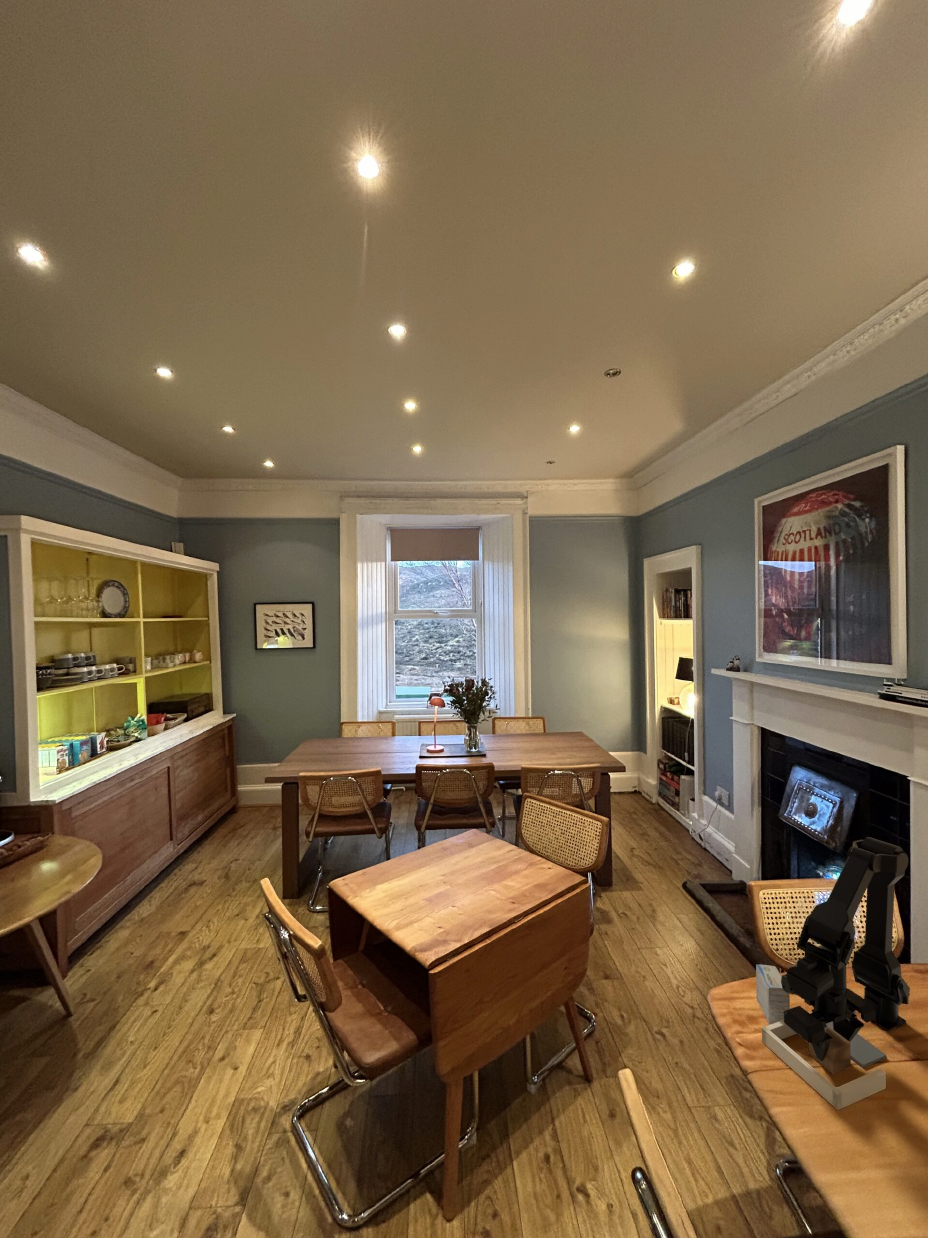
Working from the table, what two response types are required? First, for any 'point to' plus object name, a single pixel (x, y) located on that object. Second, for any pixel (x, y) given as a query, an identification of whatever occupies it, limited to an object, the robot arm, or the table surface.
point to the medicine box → (771, 993)
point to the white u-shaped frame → (833, 1095)
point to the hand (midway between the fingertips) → (829, 1055)
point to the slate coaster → (864, 1051)
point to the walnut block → (835, 1053)
